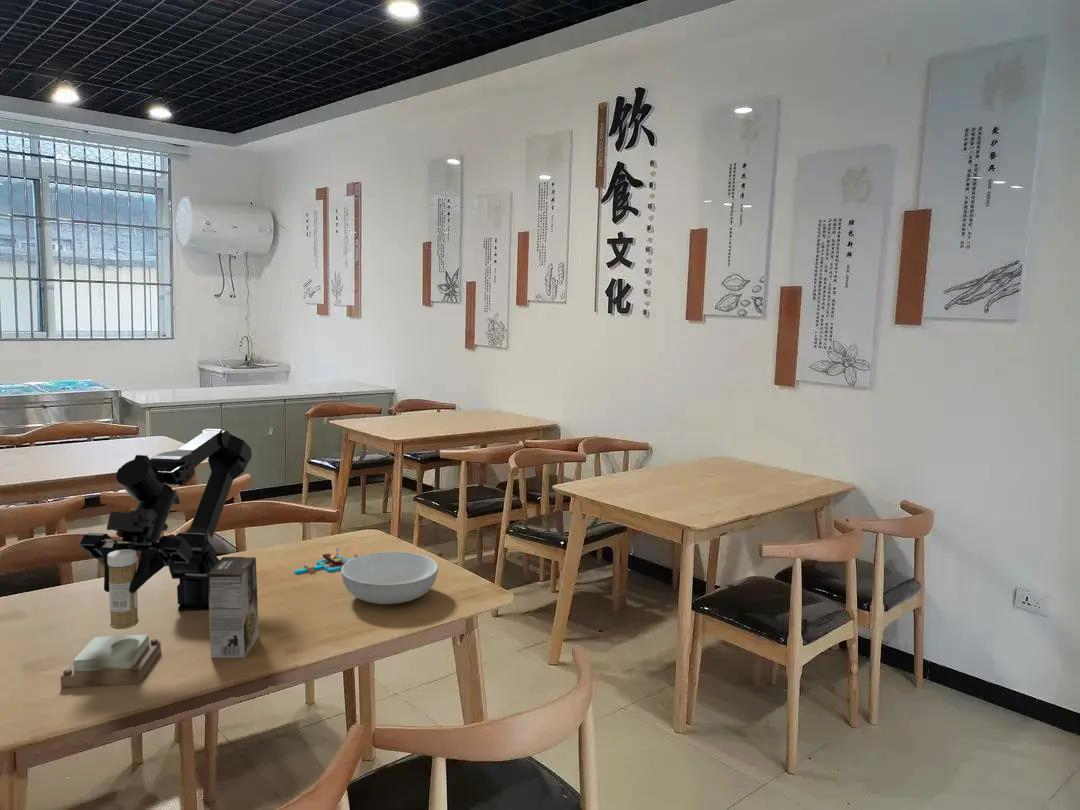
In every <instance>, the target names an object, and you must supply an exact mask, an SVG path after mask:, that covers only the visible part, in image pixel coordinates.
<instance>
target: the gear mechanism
mask: <svg viewBox="0 0 1080 810" xmlns="http://www.w3.org/2000/svg"><path fill="white" fill-rule="evenodd" d="M335 552H336V554H335V555H336V556H335V555H332V554H330V553H324V554H322V558H324V559H320V560H316V565H315V566H314V565H312V564H311V563H305V564H303V566H304V567H303V568H300V569H294V572H293V573H294V574H295V575H301V574H305V573H308V574H312V573H314V572H315V571H318V570H319V571H320V570H324V571H326V572H327V573H335V572H338V571H341V568H342V566H343V565H344V564H345V563H346V562H348V561H349V560H351V559H354V558H356V557H359V556H363V555H364V554H362V553H359V552H358V553H354V557H352V558H345V557H344V556H341V555H339V547H338V546H337V547H336V549H335Z"/></svg>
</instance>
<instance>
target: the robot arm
mask: <svg viewBox="0 0 1080 810" xmlns="http://www.w3.org/2000/svg"><path fill="white" fill-rule="evenodd" d="M252 453H253V452H252V448H251V446H250V445H248V443H247V442H246V441H245V440H243V439H241V438H239V437H238V436H236V435H232V434H231V433H230V432H229V431H228V430H226V429H224V428H205V429H202V431H201V432H200V434H198V435H197V436H196V437H194V438H193V439H191V440H190V441H187V443H185V444H184V445H182V446H180V447H179V448H178V449H175V450H170V451H165V452H161V453H157V454H155V455H153V456H152V457H151V458H149V456H148V455H147V454H136V455H135V457H134V458H133V459H131V460H129V461H127V462H125V463H124V464H123V465H122V466H120V467H119V468H118V469H117V472H116V476H115V477H116V480H117V482H118V483H119V485H121V487H122V488H123V489H124V490H125V491H126V492H127V494H129V496H131V498H132V499H133V500H135V501H138V503H137V505H136V507H135V509H134V510H132V509H131V510H129V511H128V512H127V511H126V512H125V511H110V512H109V515H108V521H107V525H106V530H107V531H110V530H111V531H115V535H116V536H117V537H118V538H122V539H121V540H116V539H113V538H112V537H111V536H109V534H107V532H86V533H85V534H83V536H82V537H81V539H80V541H79V543H78V546H79V547H80V548H81V549H82V550H83V551H85V553H87V554H88V556H90V557H91V558H93V559H95V560H103V563H104V564H103V565H104V575H103V576H104V577H103V580H104V581H103V589H104V591H105V592H106V593H109V567H108V561H107V556H108V554H109V553H110V552H113V551H116V550H122V549H131V550H135V551H136V553H139V554H140V562H139V564H138V566H137V567H136V573H135V575H134V578H133V580H132V583H131V586H130V589H129V592H130V593H135V592H136V591H137V592H138V590H139V589H140V588H141V587H143V585H144V584H145V583H146V582H148V581H149V580H150V579H151V578H152V577H153V576H154V575H156V574H157V573H158V572H159V571H161V570H162V569H163V568H164V567H168V570H169V573H170V576H171V578H172V579H174V580H176V579H177V580H178V579H179V583H178V584H177V585H176V591H177V592H176V593H177V594H176V595H177V605H179V606H178V607H177V611H188V610H189V611H192V610H194V611H196V610H209V595H208V575H207V574H208V573H209V572H210V571H211V570H212V569H213V567H214V566H215V565H216V564H217V563H218V562H219V561H220V560H221V559H219V557H218V556H217V555H216V553H217V548H216V546H215V542H214V539H213V538H214V535H215V531H216V528H217V527H218V526H217V525H218V523H219V520H220V518H221V516H222V512H223V510H224V507H225V504H226V501H227V499H228V495H229V492H230V489H231V487H232V485H233V482H234V480H235V479H237V478H238V477H239V476H240V475H241V474H243V473H244V472H245V470H246V468H247V466H248V464H249V462H250V460H251V459H252ZM205 460H207V462H208V465H209V468H210V471H211V472H210V474H209V477H208V480H207V483H206V485H205V487H204V490H203V493H202V496H201V498H200V501H199V503H198V506H197V509H196V510H195V514H194V516H193V519H192V521H191V524H190V527H189V529H188V530H187V531H186V532H178V533H177V534H176V535H175V536H174V535H173V536H172V535H163V536H161V534H162V532H167V531H168V529H169V525H168V524H167V523H166V522H167V520H168V517H169V514H170V513H171V510H172V508H173V505H179V504H180V503H181V502H180V501H181V500H180V498H179V496H178V494H177V490H174V489H173V488H172V487H171V486H185V485H187V484H188V482H190V480H191V479H192V478H193V477H194V476H195V474H196V473H195V468H196V467H197V466H198V465H200V464H201V463H203V462H204V461H205Z"/></svg>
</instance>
